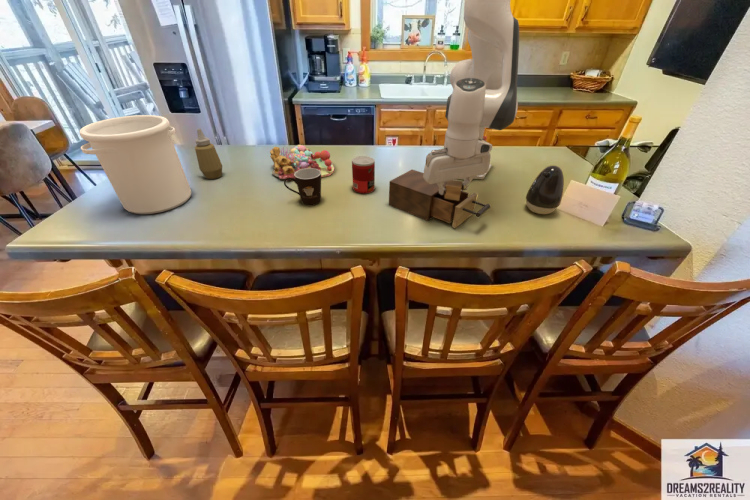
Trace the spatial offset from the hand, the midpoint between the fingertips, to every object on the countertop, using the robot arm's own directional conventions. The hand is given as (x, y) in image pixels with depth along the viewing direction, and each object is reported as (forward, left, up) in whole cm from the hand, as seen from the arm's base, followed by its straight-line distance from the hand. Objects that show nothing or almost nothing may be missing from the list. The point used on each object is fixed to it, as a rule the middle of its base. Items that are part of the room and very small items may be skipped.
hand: (453, 191), depth 96 cm
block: (0, 0, -2) cm, 2 cm away
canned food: (+3, -34, -9) cm, 35 cm away
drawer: (0, +1, -8) cm, 8 cm away
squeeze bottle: (+33, -85, -9) cm, 92 cm away
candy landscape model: (+6, -65, -9) cm, 65 cm away
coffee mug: (+22, -42, -9) cm, 49 cm away
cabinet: (0, -11, -9) cm, 14 cm away
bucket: (+55, -80, -9) cm, 98 cm away
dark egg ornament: (-23, +20, -9) cm, 32 cm away
